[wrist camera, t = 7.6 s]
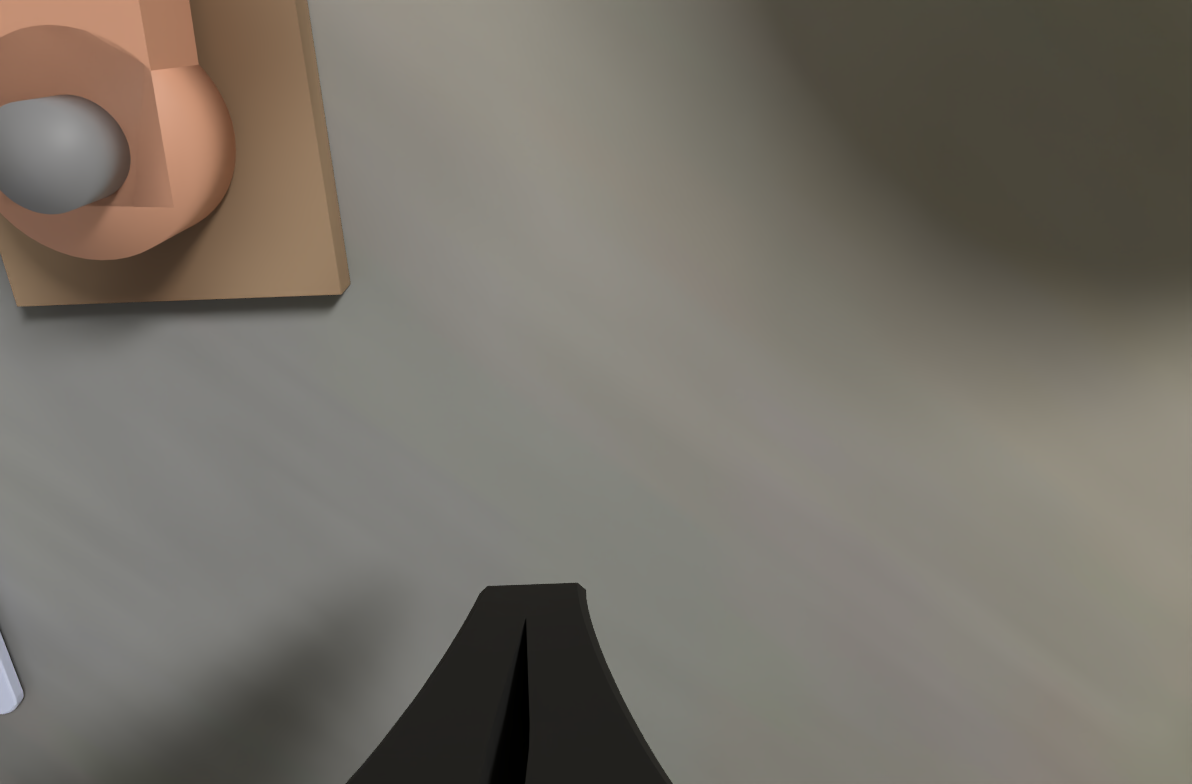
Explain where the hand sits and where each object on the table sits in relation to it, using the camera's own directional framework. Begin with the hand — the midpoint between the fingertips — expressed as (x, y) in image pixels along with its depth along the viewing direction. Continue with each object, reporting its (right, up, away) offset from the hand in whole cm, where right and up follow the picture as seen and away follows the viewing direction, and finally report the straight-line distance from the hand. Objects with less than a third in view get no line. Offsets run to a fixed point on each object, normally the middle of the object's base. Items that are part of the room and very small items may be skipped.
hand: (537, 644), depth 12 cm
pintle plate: (-8, +9, +6) cm, 14 cm away
